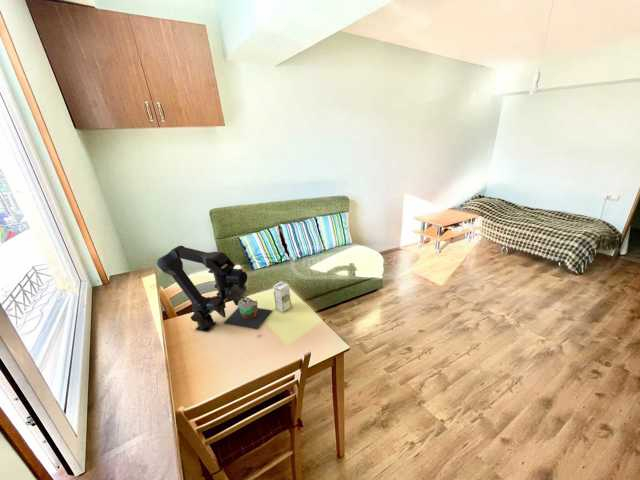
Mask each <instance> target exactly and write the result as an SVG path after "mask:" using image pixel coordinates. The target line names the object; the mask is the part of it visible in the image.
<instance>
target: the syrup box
mask: <svg viewBox="0 0 640 480" xmlns="http://www.w3.org/2000/svg"><path fill="white" fill-rule="evenodd" d="M272 290H273V296H274V304H275V309H276V310H278V311H280V312H281V313H284V312H286V311H288V310H289V309H291V308H292V301H291V291H290V285H289V284H288V283H287V282H284V281H279V282H278V283H276V284H274V285H272Z"/></svg>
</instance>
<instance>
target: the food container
mask: <svg viewBox="0 0 640 480" xmlns="http://www.w3.org/2000/svg"><path fill="white" fill-rule="evenodd" d="M258 305H259V303H258V301H257V300H253V299H252V298H249V297H246V296H244V297H242V298H241V300H239V302H238V305H236V306H237V307H238V308H239V310H240V313H241V315H242V317H243V318H244V319H253V318H256V317H257V316H258V309H257V308H258Z"/></svg>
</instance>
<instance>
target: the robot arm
mask: <svg viewBox="0 0 640 480" xmlns="http://www.w3.org/2000/svg"><path fill="white" fill-rule="evenodd" d="M182 260H185V261H188V262H189V261H190V262H194V263H197V264H202V265H203V266H205V268H207V269H209V270H208V271H207V272H208V274H212V275H213V278H214V282H215V284H214V285H213V287H214V288H215V289H217V293H216V296H217V297H219V298H218V299H217V298H213V299H211V297H209V296H207V297H206V296H203V295H202V294H201V292H200V291H199V289H198V288H197V287H196V285H195V284H194V282H193V281H192V280H191V279H190V277H189V276H188V274H187V273H186V272H185V270H184V263H183V261H182ZM156 266H157V267H158V268H159V269H160V270H161V271H162V273H164V274H167V275H169V276H171V277H172V279H174V281H175V282H176V284H177V285H178V286H179V287H180V290H182V292H183V293H184V294H185V296H186V297H187V299H188V300H189V301H190V302H191V310H192V312H193V314H192V315H191V316H190V320H191V321H192V322H195V323H196V324H197V327H196V328H195V330H196V331H201V332H207V333H208V332H210V330H211V329H213V327H214V326H215V325H216V324H217V322H216V321H214V319H213V316H212V313H213V312H216V313H217V314H219V315H220V316H221V317H222V318H223V319H226V310H225V309H226V308H227V306H226V300H228V299H229V298H231V299H232V301H233V304H234V305H235V306H237V305H238V302H239V300H241V298H242V297H245V294H246V292H247V291H248V289H247V286H246V284H247V281H248V274H247V272H246V271H243V270H244V269H242V268H235V267H236V264H235V263H234V262H233V261H232V260H231V259H230V258H229V257H228V255H227V254H226V253H225V252H221V251H210V252H208V251H207V252H206V251H203V250H199V249H194V248H190V247H186V246H183V245H178V246H175V247H174V248H172V249H171V250H170V251H169V252H168V253H167V254H164V255H162V256H161V257H158V258H157V259H156Z"/></svg>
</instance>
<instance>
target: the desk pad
mask: <svg viewBox="0 0 640 480" xmlns="http://www.w3.org/2000/svg"><path fill="white" fill-rule="evenodd" d="M257 309H258V316H257V317H256V318H253V319H244V318H243V317H242V315H241V313H240V310H239V307H238V308H237V309H235V311H233V312H232V313H231V314H230V316H228V318H227V319H226V320H225V321H224V322H223V323H224V325H225V324H226V325H231V326H236V327H237V326H238V327H243V328H250V329H256V330H258V329H259V328H260V327H261V325H262V324H263V323H264V322H265V321H266V319H267V318H268V317H269V315H270V314H271V313H272V310H271V309H267V308H259V307H257Z"/></svg>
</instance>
